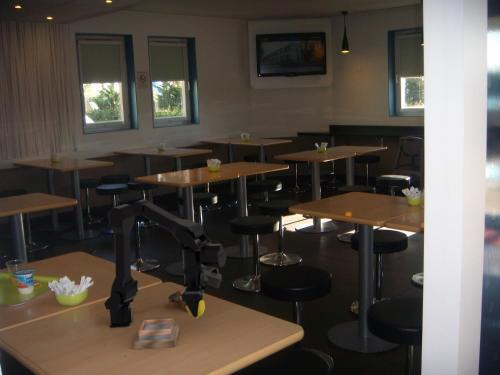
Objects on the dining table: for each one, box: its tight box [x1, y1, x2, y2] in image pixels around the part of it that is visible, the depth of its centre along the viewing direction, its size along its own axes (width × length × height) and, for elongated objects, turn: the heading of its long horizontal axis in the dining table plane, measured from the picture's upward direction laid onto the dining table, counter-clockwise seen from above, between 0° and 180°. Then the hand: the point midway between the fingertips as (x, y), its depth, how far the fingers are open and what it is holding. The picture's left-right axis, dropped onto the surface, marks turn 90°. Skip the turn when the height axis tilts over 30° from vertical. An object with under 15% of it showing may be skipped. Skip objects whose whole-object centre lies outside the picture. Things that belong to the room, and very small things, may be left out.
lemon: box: [186, 299, 206, 320], centre depth 176 cm, size 6×6×8 cm
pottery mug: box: [167, 286, 188, 313], centre depth 201 cm, size 12×10×8 cm
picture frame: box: [133, 318, 180, 350], centre depth 174 cm, size 12×12×5 cm
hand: (196, 313), depth 176 cm, fingers closed on lemon, 5 cm apart
